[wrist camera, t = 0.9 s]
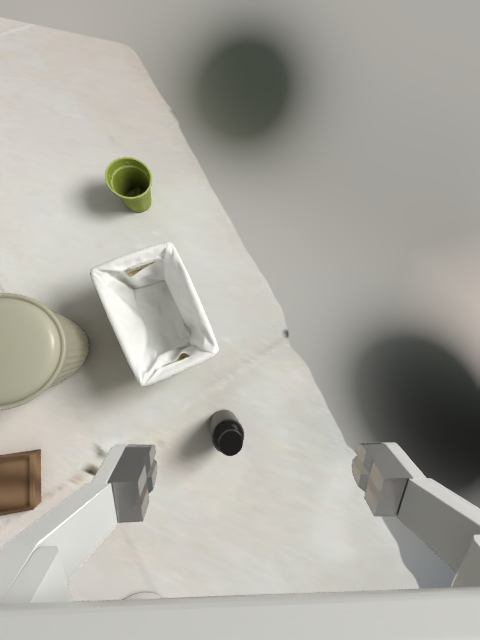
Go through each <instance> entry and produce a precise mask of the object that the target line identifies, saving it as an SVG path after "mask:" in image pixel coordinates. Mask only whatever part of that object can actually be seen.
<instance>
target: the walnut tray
mask: <svg viewBox="0 0 480 640" xmlns="http://www.w3.org/2000/svg"><path fill="white" fill-rule="evenodd" d="M40 502H41V449H40V450H33V451H26V452H19V453H12V454H6V455H0V516H1V515H6V514H12V513H17V512H23V511H28V510H33V509H34V508H35V507H36V506H37V505H38V504H39V503H40Z"/></svg>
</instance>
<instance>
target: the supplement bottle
mask: <svg viewBox="0 0 480 640" xmlns="http://www.w3.org/2000/svg"><path fill="white" fill-rule="evenodd" d="M209 428H210V433H211V438H212V442H213V445H214V447H215V448H216V449H217V450H218V451H220V452H222V453H223V454H225V455H227V456H233V455H235V454H237V453H238V452H239V451H240V450H241V448H242V445H243V440H244V431H243V428H242V426H241V424H240V423H239V421H238V419H237V418H236V416H235V415H234V414H233V413H232V412H230V411H228V410H220V411H218V412H216V413H215V414H214V415H213V416H212V418H211V420H210V423H209Z"/></svg>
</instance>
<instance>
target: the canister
mask: <svg viewBox="0 0 480 640" xmlns="http://www.w3.org/2000/svg"><path fill="white" fill-rule="evenodd" d="M88 344H89V343H88V339H87V337H86V334H85V333H84V331H83V330H82V329H81V328H80V326H79V325H77V324H76V323H75V322H73V321H71V320H70V319H68V318H66V317H64V316H62V315H60V314H57V313H55V312H53V311H51V310H49V309H48V308H47V307H46V306H45V305H43V304H42V303H40V302H38V301H36V300H34V299H32V298H29V297H26V296H23V295H18V294H12V293H0V410H6V409H11V408H14V407H17V406H20V405H23V404H25V403H27V402H29V401H31V400H33V399H34V398H36V397H37V396H39V395H40V394H42V393H43V392H44V391H45V390H46V389H48V388H50V387H52V386H54V385H56V384H58V383H60V382H62V381H63V380H65V379H67V378H69V377H70V376H72V375H73V374H74V373H76V372H77V371H78V370H79V369H80V368H81V367H82V365H83V364H84V363H85V360H86V358H87V354H88V349H89V347H88Z"/></svg>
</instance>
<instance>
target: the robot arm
mask: <svg viewBox="0 0 480 640" xmlns="http://www.w3.org/2000/svg"><path fill="white" fill-rule="evenodd" d="M355 452H356V454H357V456H356V457H355V458H354V459H353V461H352V473H353V476H354V479H355V481H356V483H357V485H358V487H360V488H361V489H362V490H363V491H364V492H365V496H364V498H365V500H366V502H367V504H368V506H369V508H370V510H371V511H372V513H373V515H374V516H393V517H396V516H397V518H398V519H399V520H400V521H401V522H402V523H403V524H404V525H405V526H406V527H407V528H408V529H409V530H411V531H412V532H413V533H414V534H415V535H416V536H417V537H418V538H419V539H420V540H421V541H422V542H423V543H425V545H427V546H428V547H429V548H430V549H431V550H432V551H433V552H434V553H435V554H436V555H437V556H438V557H440V559H442V560H443V561H444V562H445V563H446V564H447V565H448V566H449V567H450V568H451V569H452V570H453V571H454V572H455V573H456V575H455V578H454V580H453V582H452V585H451V588H428V589H400V590H373V591H345V592H317V593H289V594H261V595H235V596H208V597H181V598H162V597H160V596H158V595H156V594H153V593H138V594H134V595H131V596H129V597H127V598H125V599H124V600H100V601H73V600H72V596H71V592H70V589H69V585H68V581H69V580H70V579H71V577H72V576H73V575H74V574H75V573H76V572H77V571H78V569H79V568H80V567H81V566H82V565H83V564H84V563H85V561H86V560H87V559H88V558H89V557H90V556H91V555H92V553H93V552H94V551H95V550H96V549H97V548H98V547H99V545H100V544H101V543H102V542H103V541H104V540H105V539H106V537H107V536H108V535H109V534H110V533H111V532H112V530H113V529H114V528H115V527H116V526H117V525H118V523H122V522H140V521H143V519H144V516H145V513H146V510H147V507H148V504H149V495H148V494H149V493H150V492H151V491H152V490H153V488H154V485H155V481H156V475H157V461H156V460H155V459H154V457H155V454H156V449H155V445H133V444H128V445H119V444H115V445H114V446H113V447H112V448H111V450H110V451H109V453H108V455H107V456H106V458H105V460H104V461H103V463H102V465H101V466H100V468H99V470H98V471H97V473H96V475H95V477H94V478H93V480H92V482H91V483H88V484H85V485H84V486H82V487H81V488H80V489H78V490H77V491H76V492H74V493H73V494H72V495H70V496H69V497H68V498H66V499H65V500H64V501H62V502H61V503H60V504H58V505H57V506H56V507H54V508H53V509H52V510H50V511H49V512H48V513H46V514H45V515H44V516H42V517H41V518H40V519H38V520H37V521H36V522H34V523H33V524H32V525H30V526H29V527H28V528H26V529H25V530H24V531H22V532H21V533H20V534H18V535H17V536H16V537H14V538H13V539H12V540H10V541H9V542H8V543H6V544H5V545H4V546H3V547H2V548H1V550H0V640H480V509H479V508H478V507H476V506H474V505H473V504H471V503H469V502H468V501H466V500H465V499H463V498H462V497H460V496H458V495H457V494H455V493H453V492H452V491H450V490H449V489H447V488H445V487H444V486H442V485H441V484H439V483H437V482H436V481H434V480H432V479H427V478H426V477H425V476H424V475H423V473H422V472H421V471H420V470H419V469H418V468H417V466H416V465H415V464H414V463H413V462H412V461H411V459H410V458H409V457H408V456H407V455H406V454H405V452H404V451H403V450H402V449H401V448H400V446H399V445H398V444H396V443H358V444H357V445H356V447H355Z"/></svg>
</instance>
